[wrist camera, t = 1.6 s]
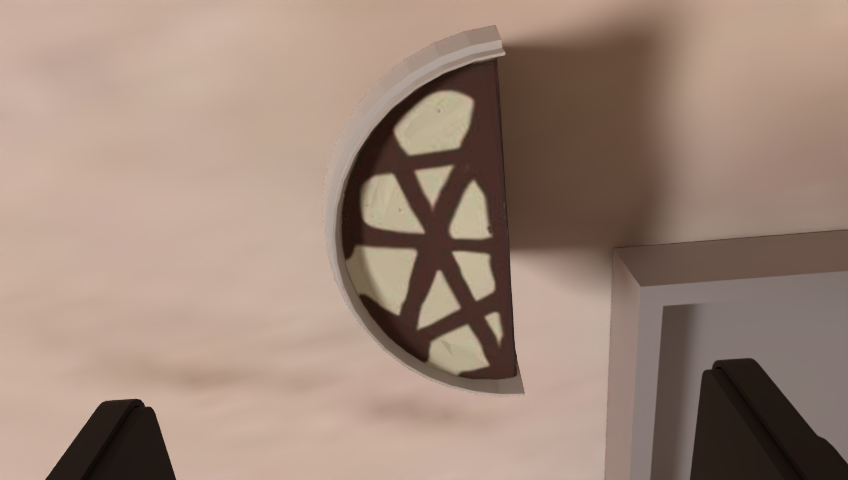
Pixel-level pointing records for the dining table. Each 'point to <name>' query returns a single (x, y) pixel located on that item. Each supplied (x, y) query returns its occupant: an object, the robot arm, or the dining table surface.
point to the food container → (429, 217)
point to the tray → (722, 339)
